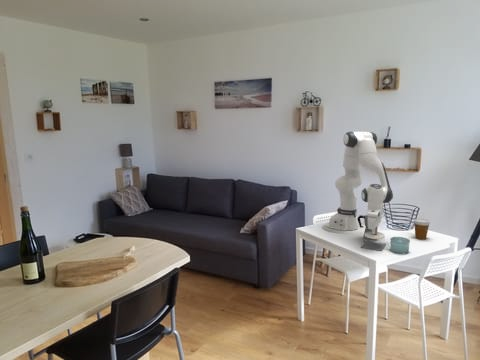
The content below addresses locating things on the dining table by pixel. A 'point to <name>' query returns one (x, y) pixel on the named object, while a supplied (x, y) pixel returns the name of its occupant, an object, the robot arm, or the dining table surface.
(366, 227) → the coffeepot
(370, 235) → the lid
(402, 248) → the crock
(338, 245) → the dining table surface
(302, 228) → the dining table surface
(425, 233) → the disposable coffee cup
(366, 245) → the mat
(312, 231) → the dining table surface
